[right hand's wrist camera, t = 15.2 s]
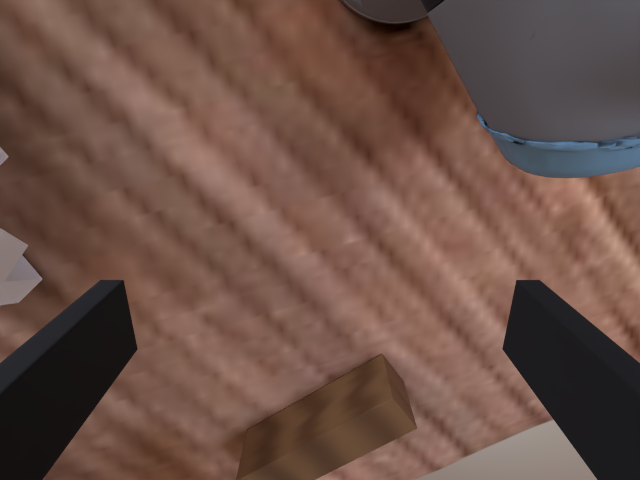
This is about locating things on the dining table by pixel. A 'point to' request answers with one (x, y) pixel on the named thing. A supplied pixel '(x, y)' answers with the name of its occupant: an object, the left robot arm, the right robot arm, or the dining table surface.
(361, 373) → the bar
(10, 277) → the pile of blocks
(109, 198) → the dining table surface
